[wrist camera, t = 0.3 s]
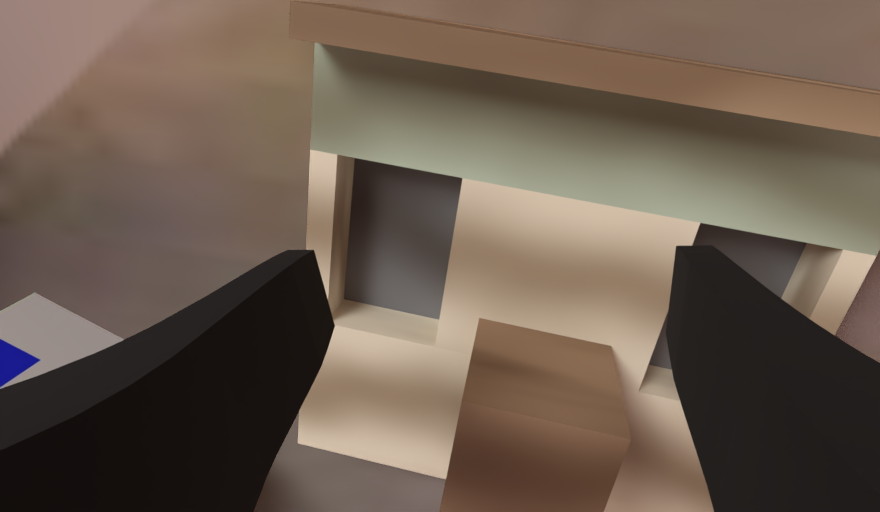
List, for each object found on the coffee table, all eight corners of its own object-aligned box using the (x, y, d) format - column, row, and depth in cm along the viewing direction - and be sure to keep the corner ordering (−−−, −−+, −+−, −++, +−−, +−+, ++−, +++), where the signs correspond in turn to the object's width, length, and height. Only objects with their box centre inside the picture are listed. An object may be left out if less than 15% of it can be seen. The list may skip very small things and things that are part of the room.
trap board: (706, 500, 25) (738, 591, 21) (318, 408, 27) (278, 476, 23) (902, 94, 18) (1011, 116, 14) (342, 5, 19) (290, 0, 15)
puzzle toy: (35, 291, 28) (-213, 424, 18) (212, 384, 28) (54, 558, 19) (12, 421, 32) (-199, 580, 23) (166, 500, 32) (18, 687, 23)
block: (578, 447, 22) (587, 555, 18) (458, 419, 23) (438, 517, 18) (611, 345, 20) (631, 439, 16) (479, 317, 21) (461, 400, 16)
